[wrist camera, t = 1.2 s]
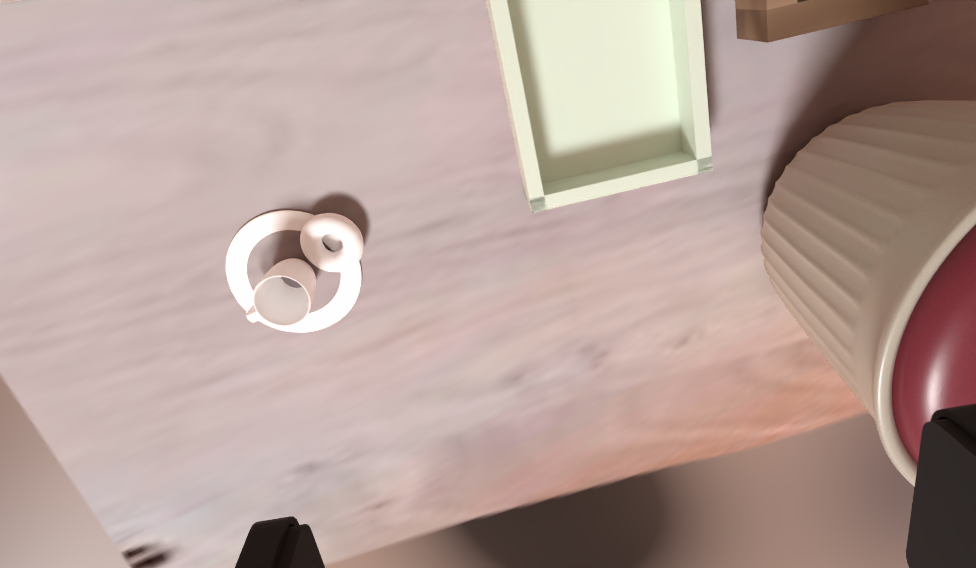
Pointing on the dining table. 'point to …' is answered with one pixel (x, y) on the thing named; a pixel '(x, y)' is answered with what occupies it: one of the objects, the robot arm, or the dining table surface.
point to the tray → (602, 94)
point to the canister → (885, 260)
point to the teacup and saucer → (297, 270)
